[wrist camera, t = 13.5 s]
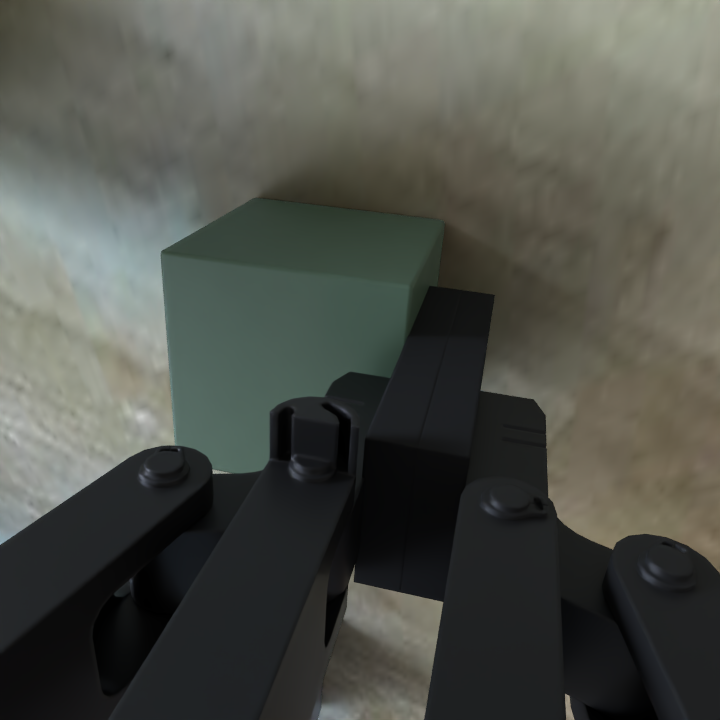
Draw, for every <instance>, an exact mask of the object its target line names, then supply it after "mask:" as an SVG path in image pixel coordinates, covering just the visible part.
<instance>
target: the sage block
mask: <svg viewBox="0 0 720 720" xmlns="http://www.w3.org/2000/svg"><path fill="white" fill-rule="evenodd" d="M444 227H445V223H444V221H443V220H438V219H429V218H421V217H413V216H404V215H396V214H388V213H379V212H371V211H362V210H354V209H346V208H337V207H329V206H321V205H312V204H304V203H295V202H287V201H279V200H270V199H262V198H254V199H252V200H250V201H248V202H247V203H245V204H243V205H241V206H240V207H238V208H236V209H234V210H233V211H231V212H229V213H227V214H226V215H224V216H222V217H220V218H219V219H217V220H215V221H213V222H212V223H210V224H208V225H206V226H205V227H203V228H201V229H199V230H198V231H196V232H194V233H192V234H191V235H189V236H187V237H185V238H184V239H182V240H180V241H178V242H177V243H175V244H173V245H172V246H170V247H168V248H166V249H165V250H163V251H162V252H161V265H162V278H163V292H164V305H165V318H166V331H167V345H168V358H169V371H170V384H171V397H172V411H173V424H174V437H175V446H184V447H189V448H193V449H196V450H198V451H199V452H201V453H203V454H204V455H206V456H207V457H208V459H209V461H210V462H211V464H212V469H214V470H219V471H224V472H229V473H234V474H236V473H250V472H257V471H261V470H263V469H264V468H265V466H266V464H267V463H268V461H269V459H270V411H271V410H272V409H273V408H275V407H276V406H277V405H278V404H280V403H282V402H285V401H287V400H290V399H293V398H300V397H308V396H313V397H325V394H326V392H327V391H328V389H329V387H330V386H331V384H332V382H333V381H335V380H336V379H338V378H340V377H341V376H343V375H345V374H346V373H348V372H350V371H351V372H357V373H363V374H369V375H375V376H382V377H388V378H391V375H392V373H393V371H394V368H395V366H396V364H397V361H398V359H399V356H400V354H401V352H402V349H403V347H404V344H405V342H406V340H407V337H408V335H409V334H410V331H411V329H412V327H413V324H414V322H415V320H416V317H417V315H418V312H419V310H420V308H421V305H422V303H423V300H424V298H425V296H426V293H427V291H428V288H429V286H435V287H437V285H438V277H439V268H440V260H441V252H442V243H443V235H444Z"/></svg>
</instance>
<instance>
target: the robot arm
mask: <svg viewBox="0 0 720 720" xmlns="http://www.w3.org/2000/svg"><path fill="white" fill-rule="evenodd" d="M494 297H495V295H493V294H485V293H478V292H471V291H464V290H456V289H449V288H442V287H435V286H429V288H428V291H427V293H426V296H425V298H424V300H423V303H422V305H421V308H420V310H419V312H418V315H417V317H416V320H415V322H414V324H413V327H412V329H411V331H410V334H409V335H408V337H407V340H406V342H405V344H404V347H403V349H402V352H401V354H400V356H399V359H398V361H397V364H396V366H395V368H394V371H393V373H392V375H391V378H388V377H382V376H375V375H369V374H363V373H357V372H351V371H350V372H348V373H346V374H345V375H343V376H341V377H340V378H338V379H336V380H335V381H333V382H332V384H331V386H330V387H329V389H328V391H327V392H326V394H325V397H313V396H308V397H300V398H293V399H290V400H287V401H285V402H282V403H280V404H278V405H277V406H276V407H275V408H273V409H272V410H271V411H270V459H269V461H268V463H267V464H266V466H265V468H264V469H263V470H261V471H257V472H250V473H236V474H213V472H212V464H211V462H210V461H209V459H208V457H207V456H206V455H204V454H203V453H201V452H199V451H198V450H196V449H193V448H189V447H184V446H159V447H155V448H151V449H146V450H144V451H142V452H140V453H137V454H135V455H133V456H131V457H130V458H128V459H127V460H125V461H124V462H122V463H121V464H119V465H118V466H116V467H115V468H113V469H112V470H110V471H109V472H107V473H106V474H104V475H103V476H101V477H100V478H99V479H97V480H96V481H94V482H93V483H91V484H90V485H88V486H87V487H85V488H84V489H82V490H81V491H79V492H78V493H76V494H75V495H73V496H72V497H70V498H69V499H68V500H66V501H65V502H63V503H62V504H60V505H59V506H57V507H56V508H54V509H53V510H51V511H50V512H48V513H47V514H45V515H44V516H42V517H41V518H39V519H38V520H37V521H35V522H34V523H32V524H31V525H29V526H28V527H26V528H25V529H23V530H22V531H20V532H19V533H17V534H16V535H14V536H13V537H11V538H10V539H8V540H7V541H6V542H4V543H3V544H1V545H0V720H310V718H311V715H312V712H313V709H314V706H315V703H316V700H317V697H318V694H319V691H320V688H321V685H322V682H323V678H324V675H325V672H326V669H327V666H328V663H329V660H330V657H331V654H332V651H333V648H334V645H335V642H336V638H337V635H338V632H339V629H340V626H341V623H342V620H343V617H344V614H345V611H346V607H347V593H348V583H349V580H350V577H351V574H352V571H353V568H354V565H355V574H354V582H356V583H361V584H365V585H370V586H374V587H379V588H383V589H388V590H392V591H397V592H402V593H406V594H411V595H415V596H420V597H424V598H429V599H433V600H438V601H442V602H443V608H442V614H441V620H440V626H439V633H438V639H437V645H436V651H435V657H434V663H433V669H432V676H431V682H430V688H429V694H428V700H427V706H426V712H425V719H424V720H566V708H565V694H567V695H569V696H570V703H571V710H572V713H573V716H574V719H575V720H720V573H719V572H718V571H717V570H716V569H715V568H714V567H713V565H712V564H711V563H710V562H709V561H708V560H707V559H706V558H705V557H704V556H702V555H701V554H699V553H698V552H696V551H694V550H693V549H691V548H690V547H688V546H687V545H684V544H682V543H679V542H677V541H674V540H672V539H669V538H667V537H661V536H656V535H650V534H640V535H631V536H627V537H626V538H624V539H622V540H620V541H618V542H617V543H616V545H615V547H614V549H613V550H612V549H609V548H607V547H605V546H602V545H600V544H598V543H595V542H593V541H590V540H589V539H587V538H585V537H583V536H581V535H579V534H577V533H575V532H574V531H572V530H571V529H570V528H568V527H567V526H565V525H564V524H563V523H562V522H561V521H560V520H559V519H558V518H557V513H556V510H555V507H554V505H553V502H552V501H551V500H550V499H549V498H548V479H547V448H546V415H545V414H544V413H543V411H542V410H541V409H540V407H539V406H538V405H537V403H536V402H535V401H534V400H533V399H527V398H521V397H515V396H509V395H503V394H497V393H491V392H485V391H480V389H481V383H482V376H483V369H484V363H485V356H486V350H487V343H488V336H489V330H490V323H491V317H492V310H493V303H494Z"/></svg>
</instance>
